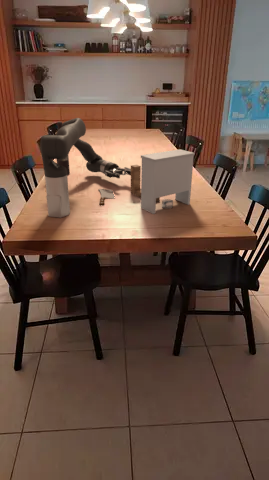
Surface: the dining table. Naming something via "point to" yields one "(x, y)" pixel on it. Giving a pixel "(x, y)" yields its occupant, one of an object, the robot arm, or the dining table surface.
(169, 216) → the dining table surface
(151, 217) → the dining table surface
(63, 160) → the wine bottle
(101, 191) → the kitchen cleaver
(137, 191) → the upright wooden plank
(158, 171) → the cabinet
